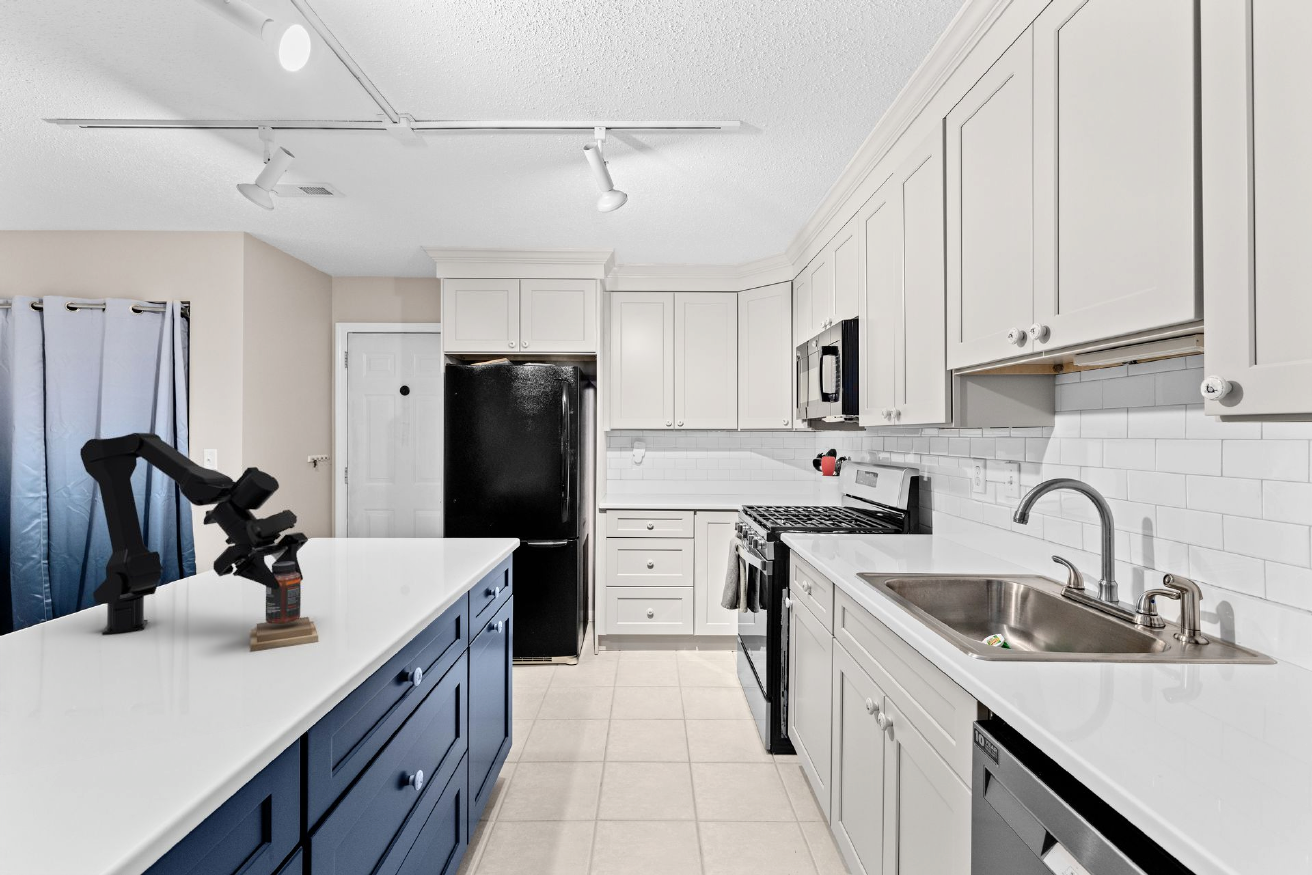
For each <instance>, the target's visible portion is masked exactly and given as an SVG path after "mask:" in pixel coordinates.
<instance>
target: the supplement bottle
mask: <svg viewBox="0 0 1312 875" xmlns="http://www.w3.org/2000/svg"><path fill="white" fill-rule="evenodd" d="M295 568H296V567H295V562H292V561H285V562H277V563H274V562H273V563H272V564H271V572H272V573H273V575H274V576H275V578H276V579H277V581H278V582H279V584H280V587H279V588H278V589H276V590H275V589H272V588H270V587H268V586H265V622H268V623H271V624H282V623H289V622H292V621H295V620H297V619H299V618H301V604H302V603H301V598H302V596H301V594H302V593H301V586H302V584H301V583H302V581H301V576H300V574H299V573H298V572H296V571H295Z"/></svg>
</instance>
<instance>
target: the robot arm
mask: <svg viewBox="0 0 1312 875" xmlns="http://www.w3.org/2000/svg"><path fill="white" fill-rule="evenodd" d="M79 452H80V454H79V455H80V459H81V461H82V465H83V467H84V469H85V472H86V473H87V474H88V475H89V476H91V478H92V479H94V481H96V482H97V483H98V487H99V490H100V495H101V501H102V504H103V505H102V506H103V511H104V515H105V520H106V521H105V522H106V527H107V531H108V536H109V541H110V543H111V544H110V545H111V549H112V551H111V552H112V553H111V556H110V557H109V560H108V562H107V564H106V566H105V577H106V579H104V580H103V582H102V583H101V584H99V586H98V587H97V588H96V589H95V590H94V591H93V593H92V596H93V599H94V602H95V603H96V604H105V605H106V604H107V607H106V608H107V615H106V616H107V617H106V618H107V619H106V620H107V624H106V626H105V627H104V629H103V630H102V631H101V634H102V635H107V634H108V635H109V634H116V633H123V632H124V633H125V632H132V631H141V630H145V628H146V626H147V624H148V621H149V620H148V619H144V617H145V615H144V614H145V610H144V608H145V605H144V604H145V596H150V595H155V594H156V591H157V588H158V585H159V582H160V580H161V579H162V571H163V570H164V568H163V566H162V563H161V556H160V553H159V551H150V550H149V549H148V547H146V545H145V544H144V539H143V534H142V531H141V530H142V529H141V524H140V519H139V514H138V509H137V505H136V500H135V495H134V490H133V486H132V485H133V484H132V481H131V480H132V476H133V473H134V472H135V470H136V468H137V465H138V464H137V463H138V462H137V461H138V460H137V459H139V458H142V459H143V460H145V461H146V462H148V463H149V464H150V465H152V466H153V467H155V468H156V469H157V470H159V471H160V472H162V473H163V474H165V476H167V477H169V478H171V480H173V481H175V482H176V483H177V485H178V486H179V490H180V491H179V492H180V494H182V495H183V496H184V498H186V500H188V501H189V502H190V503H191V504H192V505H194V506H195V507H196V506H197V507H202V506H203V507H204V506H209V505H210V506H211V505H215V507H213V509H209V510H206V511H205V516H204V518H203V525H205V526H207V525H212V524H213V525H214V524H217V525H218V526H219V527H220V529H221V530H222V531H223V532H224V534H226V536H227V538H226V539H225V541H224V542H225V543H226V544H227V545H228V547H226V548H225V549H224V551H222V552H221V554H219V556H217V558H215V560H214V561H213V569H212V570H213V571H214V572H215V573H216V574H217V576H218V577H223V576H227V575H231V574H232V576H234V577H241V578H244V579H247V580H250V581H253V582H255V583H258V584H261V585H263V586H265V587H266V586H268V587H270V588H272V589H275V590H276V589H278V588H279V587H280V584H279V582H278V581H277V579H276V578H275V576H274V575H273V573H272V570H271V569H270V568H269V566H268V565H267V563H266V561H265V557H268V556H271V557H273V558H274V559H275V561H274V562H273V563H277V562H285V561H292V562H295V567H296V568H295V571H296V572H298V573H299V574H300V576H301V582H302V581H303V579H304V577H303V573H302V569H301V568H300V563H299V560H298V556H297V555H298V551H299V550H300V549H301V548H303V546H304V545H305V544H306V543H307V542H308V541H309V538H308V537H307V536H306V535H305V533H304V532H300V531H298V532H297V531H296V532H291V533H287V534H285V535H283V536H282V534H281V533H282V532H285V531H287V530H289V529H293V528H295V527H296V526H295V525H296V523H297V522H298V521H297V520H298V519H297V518H298V516H297V515H296V514H295V513H294V512H293V511H292V510H291V509H284V510H282V511H280V512H278V513H275V514H272V515H270V516H268V517H265V518H262V517H261V518H257V517H256V516H255V515H254V514H253V513H252V511H251V510H254V511H256V510H260V508H261V507H262V506H263V505H264V504H266V502H268V500H269V499H270V498H271V497H272V496H273V495H274V494H275V492H277V490H278V489H279V488H280V484H279V482H278V480H277V479H276V478H275V477H274V476H271V475H270V474H269V473H267V472H264V471H262V470H259V468H258V467H256V466H254V467H253V466H252V467H247V468H246V469H245V470H244V472H242V474H241V476H240V477H239V478H238V479H237V480H236V481H234V480H233V478H232V477H230V476H228V475H226V474H223V473H222V472H219V471H217V470H214V469H210V468H207V467H203V466H201V465H198V464H197V463H196V462H195V461H193V460H191V459H190V458H189V457H187V456H186V455H184V454H183V453H181V452H180V451H179V450H177V449H175V448H174V447H173V446H171V445H170V444H169V443H167V442H165V441H164V440H162V438H161V437H160V435H158V434H156V433H153V432H132V433H129V434H125V435H121V436H117V437H111V438H91V439H89V440H87V441H86V442H85V443H84V445H83V446H82V447H81V448H80V451H79ZM280 537H282V538H280ZM279 538H280V540H279ZM276 540H279V541H278V542H276ZM275 542H276V543H275ZM233 564H234V565H235V566H233ZM234 567H235V569H236V570H235V571H234Z"/></svg>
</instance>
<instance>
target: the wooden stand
mask: <svg viewBox="0 0 1312 875" xmlns="http://www.w3.org/2000/svg"><path fill="white" fill-rule="evenodd" d="M317 642H319V634H318V630H317V628H316V625H315V622H314V621H310V618H309V616H303V617H300V618H299V619H297V620H295V621H292V622H289V623H282V624H271V623H268V622H266V621H265V622H258V623H256V628H252V629H250V652H251V653H252V652H256V651H264V650H270V649H271V650H272V649H277V648H283V647H291V646H292V647H293V646H297V645H303V644H311V643H317Z"/></svg>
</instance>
